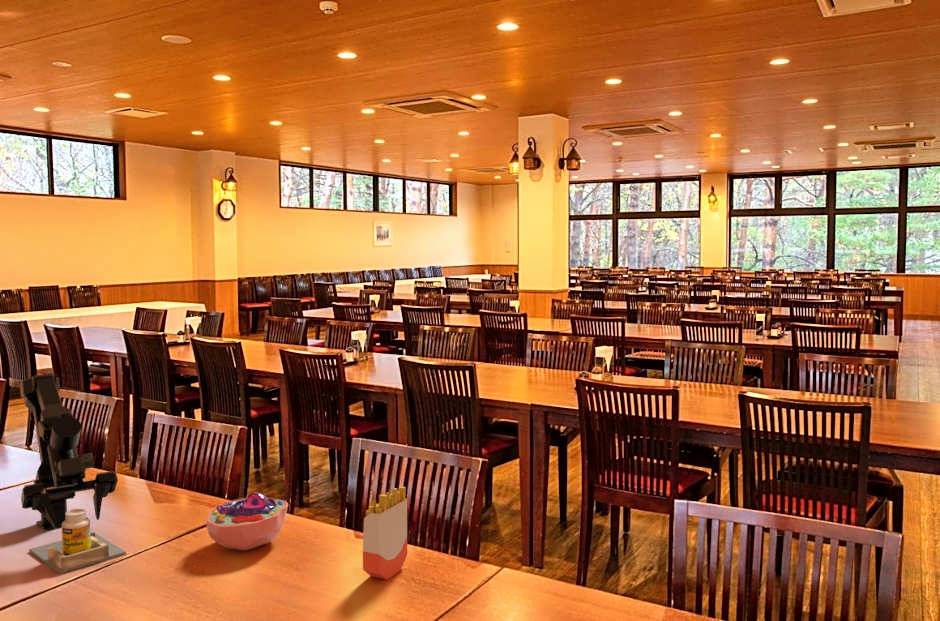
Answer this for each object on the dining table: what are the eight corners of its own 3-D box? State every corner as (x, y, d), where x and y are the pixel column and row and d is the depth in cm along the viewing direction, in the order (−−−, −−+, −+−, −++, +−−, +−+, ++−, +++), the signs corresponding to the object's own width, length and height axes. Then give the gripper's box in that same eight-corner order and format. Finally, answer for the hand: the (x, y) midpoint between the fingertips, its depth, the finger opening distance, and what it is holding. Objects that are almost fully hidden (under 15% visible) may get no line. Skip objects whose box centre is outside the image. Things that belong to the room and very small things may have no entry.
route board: (29, 551, 176) (29, 544, 175) (93, 534, 186) (92, 527, 186) (59, 574, 164) (59, 566, 164) (125, 554, 174) (125, 547, 174)
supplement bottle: (58, 562, 168) (56, 516, 167) (69, 552, 174) (67, 507, 173) (85, 561, 169) (83, 515, 168) (95, 551, 174) (93, 507, 173)
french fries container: (361, 580, 161) (360, 495, 159) (389, 561, 171) (389, 481, 169) (380, 585, 159) (379, 499, 157) (407, 565, 168) (407, 484, 167)
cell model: (187, 553, 175) (186, 504, 174) (251, 524, 193) (250, 480, 192) (244, 567, 167) (243, 516, 166) (305, 536, 185) (304, 490, 184)
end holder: (48, 559, 170) (47, 548, 170) (92, 546, 177) (92, 535, 177) (63, 570, 164) (62, 558, 164) (108, 556, 171) (108, 545, 171)
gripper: (20, 449, 166) (31, 514, 159) (114, 436, 178) (128, 495, 170) (16, 476, 173) (27, 539, 165) (106, 462, 185) (120, 520, 177)
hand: (77, 523), depth 169 cm, fingers open, 8 cm apart
